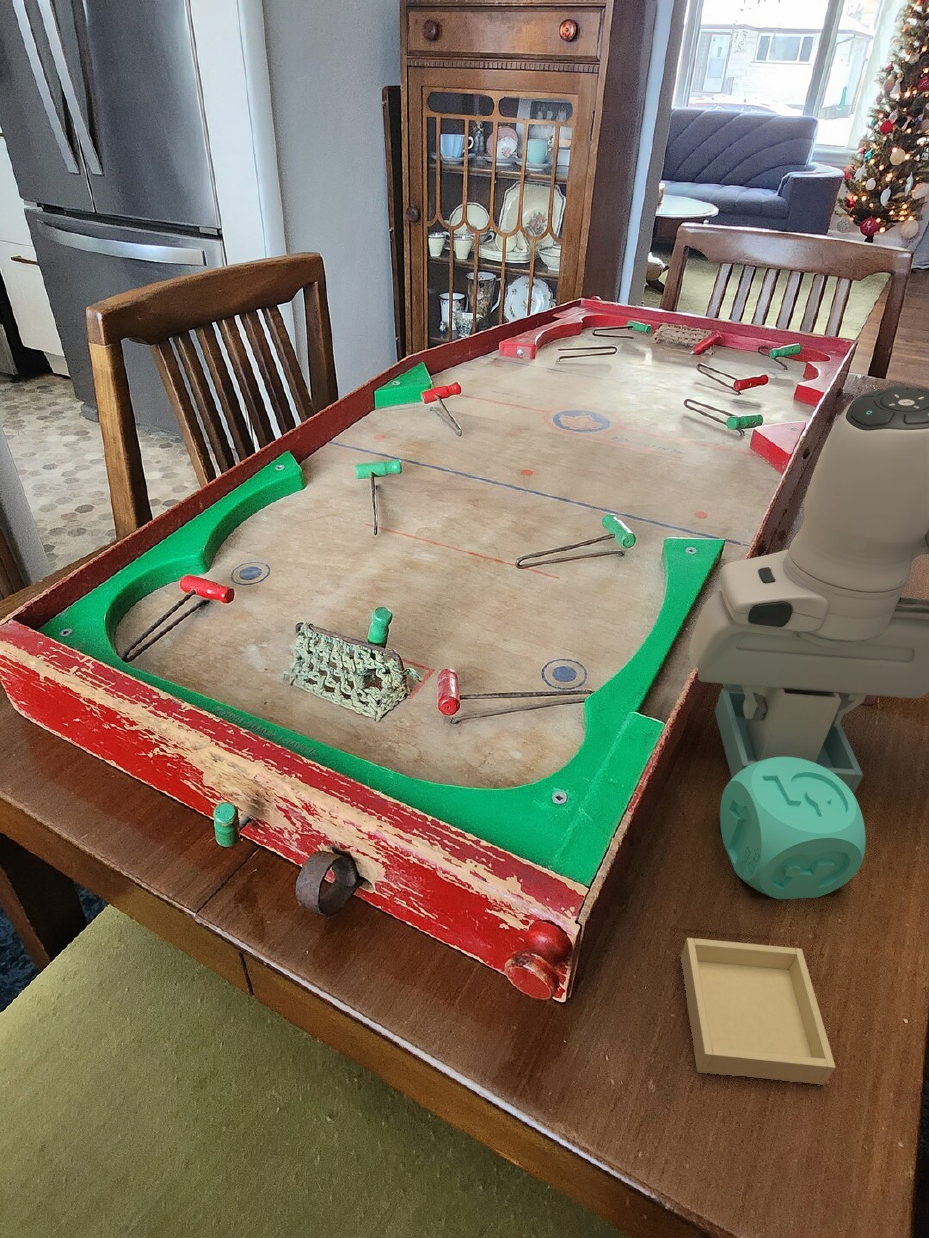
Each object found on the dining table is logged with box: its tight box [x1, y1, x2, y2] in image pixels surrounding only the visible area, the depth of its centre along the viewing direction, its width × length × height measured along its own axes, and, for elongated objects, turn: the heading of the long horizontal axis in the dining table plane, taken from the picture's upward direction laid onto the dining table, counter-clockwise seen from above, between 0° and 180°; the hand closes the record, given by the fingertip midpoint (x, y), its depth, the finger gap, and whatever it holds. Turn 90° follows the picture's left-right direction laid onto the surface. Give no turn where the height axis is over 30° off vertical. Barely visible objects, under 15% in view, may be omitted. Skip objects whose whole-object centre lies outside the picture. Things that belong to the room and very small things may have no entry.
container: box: [746, 687, 841, 763], centre depth 71 cm, size 5×5×8 cm
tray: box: [680, 937, 836, 1086], centre depth 52 cm, size 8×8×2 cm
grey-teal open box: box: [714, 687, 864, 795], centre depth 72 cm, size 10×10×4 cm
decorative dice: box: [719, 757, 867, 900], centre depth 61 cm, size 8×8×8 cm
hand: (789, 718), depth 71 cm, fingers open, 5 cm apart
